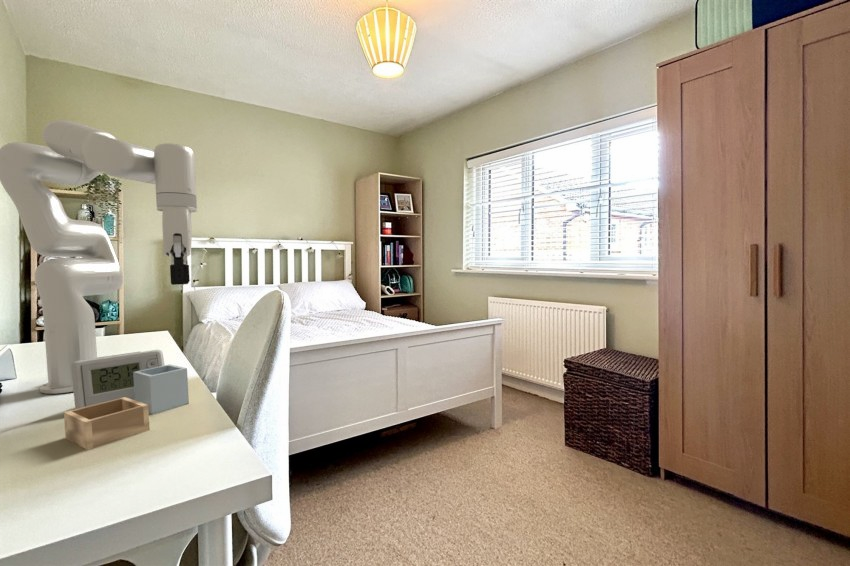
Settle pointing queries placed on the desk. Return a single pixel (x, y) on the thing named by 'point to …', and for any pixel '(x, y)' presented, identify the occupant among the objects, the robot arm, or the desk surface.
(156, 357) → the digital clock
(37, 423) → the desk surface
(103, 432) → the oak box
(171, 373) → the light blue pen cup
